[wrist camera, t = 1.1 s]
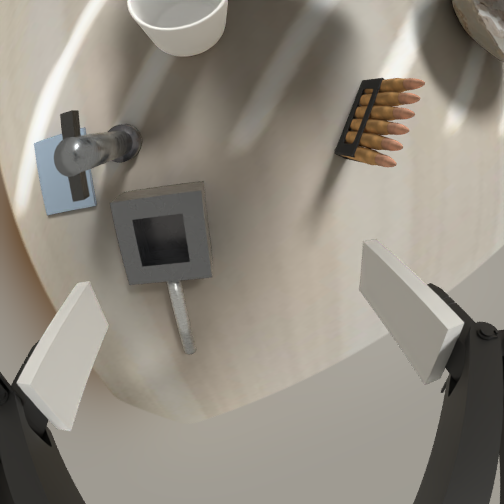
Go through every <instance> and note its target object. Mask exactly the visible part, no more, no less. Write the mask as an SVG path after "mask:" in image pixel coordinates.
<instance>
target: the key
mask: <svg viewBox="0 0 504 504" xmlns="http://www.w3.org/2000/svg"><path fill="white" fill-rule="evenodd" d="M60 117H61V128H62V137H63V140H62V141H61V142H60V143H59V144H58V145H57V147H56V149H55V152H54V164H55V167H56V169H57V170H58V171H59V173H61V174H62V175H64V176H67V177H68V179H69V184H70V190H71V195H72V200H73V202H75V201H80V200H85V199H86V198H88V197H89V196H90V194H89V188H88V183H87V177H86V171H87V170H89V169H91V168H94V167H96V166H99V165H101V164H104V163H106V162H109V161H111V160H112V161H114V162H125V161H128V160H130V159H132V158H133V157H135V156H136V155H137V154H138V152H139V150H140V148H141V144H142V139H141V135H140V133H139V131H138V130H137V129H136V128H135V127H133V126H131V125H117V126H114V127H113V128H111V129H110V130H109V131H108V132H104V133H96V134H88V135H81V134H80V124H79V113H78V111H69V112H66V113H63V114H60Z"/></svg>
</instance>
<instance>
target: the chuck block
mask: <svg viewBox="0 0 504 504" xmlns="http://www.w3.org/2000/svg"><path fill="white" fill-rule="evenodd" d="M110 206H111V211H112V216H113V221H114V225H115V230H116V234H117V239H118V243H119V247H120V251H121V255H122V259H123V263H124V267H125V270H126V274H127V277H128V281H129V285H133V284H145V283H156V282H167V286H168V291H169V295H170V299H171V303H172V307H173V311H174V315H175V319H176V323H177V327H178V330H179V334H180V338H181V341H182V345H183V349H184V352H185V353H186V354H193V353H194V352H195V351H196V346H195V342H194V338H193V334H192V329H191V325H190V321H189V316H188V312H187V307H186V303H185V298H184V293H183V289H182V284H181V280H189V279H200V278H210V277H212V250H211V242H210V234H209V226H208V217H207V208H206V199H205V190H204V181H202V182H193V183H184V184H176V185H169V186H161V187H154V188H147V189H140V190H134V191H128V192H123V193H122V194H121V195H119V196H118V197H117V198H116V199H114V200H113V201H112V202H111V203H110Z"/></svg>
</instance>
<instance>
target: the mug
mask: <svg viewBox="0 0 504 504" xmlns="http://www.w3.org/2000/svg"><path fill="white" fill-rule="evenodd" d="M127 6H128V10H129V13H130V14H131V16H132V17H133V19H134V20H135V21H136V22H137V23H138V25H139V26H140V27H141V28H142V29H143V31H144V32H145V33H146V34H147V35H148V37H149V38H150V39H151V40H152V41H153V43H154V44H155V45H156V46H157V47H158V48H159V49H160V50H162V51H163V52H165V53H168V54H170V55H174V56H181V57H185V56H193V55H197V54H200V53H202V52H204V51H206V50H208V49H210V48H211V47H212V46H214V45H215V44H216V43H217V42H218V40H219V39H220V38H221V36H222V34H223V32H224V29H225V25H226V16H227V6H228V0H127Z"/></svg>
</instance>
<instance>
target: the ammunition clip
mask: <svg viewBox="0 0 504 504" xmlns="http://www.w3.org/2000/svg"><path fill="white" fill-rule="evenodd" d="M424 84H425V82H424V81H422V80H419V79H413V78H409V79H401V78H394V79H387V80H384V79H383V78H378V79H370V80H363V81H362V83H361V85H360V88H359V91H358V93H357V96H356V99H355V101H354V104H353V107H352V109H351V112H350V114H349V117H348V120H347V122H346V125H345V127H344V130H343V132H342V135H341V137H340V140H339V142H338V145H337V147H336V150H335V154H337V155H339V156H341V157H343V158H345V159H349V160H354V161H358V162H363V163H367V164H370V165H378V166H383V167H394V166H396V162H395V161H394V160H393V159H392V158H391V157H389V156H387V155H384V154H381V153H379V152H377V151H376V150H390V151H396V150H401V149H402V148H403V146H402V144H401V143H399V142H398V141H396V140H393V139H390V138H386V137H383V136H381V135H388V134H391V135H392V134H394V135H401V134H406V133H408V132H409V129H408V128H407V127H406V126H404V125H402V124H399V123H393V122H388V121H392V120H395V119H409V118H411V117H413V116H414V115H415V113H414V112H413V111H411V110H409V109H406V108H398V107H392V106H399V105H404V104H412V103H415V102H417V101H419V100H420V97H419V96H417V95H415V94H412V93H400V92H403V91H407V90H413V89H417V88H420V87H422V86H423V85H424ZM378 134H379V135H378ZM360 146H362V147H360ZM364 147H366V148H364ZM373 149H376V150H373Z"/></svg>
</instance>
